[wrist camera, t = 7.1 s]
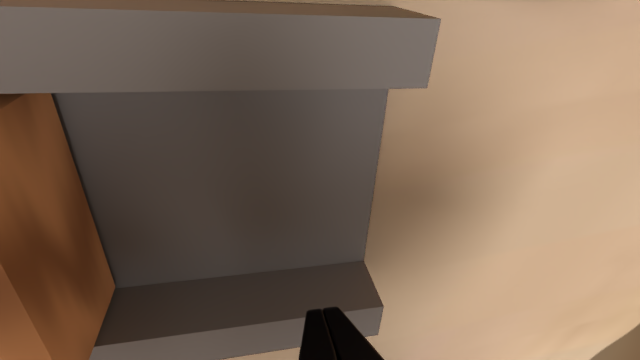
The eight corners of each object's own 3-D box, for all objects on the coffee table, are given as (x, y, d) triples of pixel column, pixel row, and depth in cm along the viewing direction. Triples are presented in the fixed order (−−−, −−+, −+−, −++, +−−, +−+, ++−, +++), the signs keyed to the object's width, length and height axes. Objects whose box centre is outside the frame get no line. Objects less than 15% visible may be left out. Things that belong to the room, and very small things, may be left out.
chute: (356, 279, 20) (378, 334, 17) (-65, 331, 16) (-131, 414, 13) (393, 6, 13) (440, 19, 10) (-328, -19, 9) (-596, -11, 6)
